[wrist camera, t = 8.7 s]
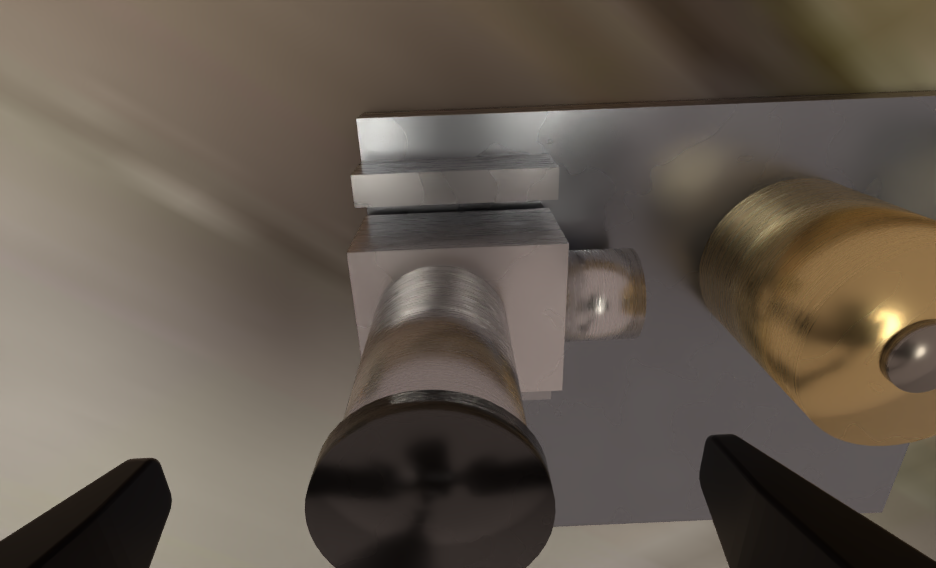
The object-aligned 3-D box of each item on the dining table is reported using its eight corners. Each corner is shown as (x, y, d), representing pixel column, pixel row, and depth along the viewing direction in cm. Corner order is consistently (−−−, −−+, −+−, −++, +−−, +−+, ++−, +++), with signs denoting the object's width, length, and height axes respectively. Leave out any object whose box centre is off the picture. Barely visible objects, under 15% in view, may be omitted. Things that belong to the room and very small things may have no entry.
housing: (846, 332, 17) (1005, 450, 12) (687, 339, 17) (782, 460, 12) (894, 173, 15) (1109, 240, 10) (712, 181, 15) (840, 251, 10)
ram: (610, 332, 16) (749, 593, 9) (381, 342, 16) (314, 613, 8) (622, 204, 14) (807, 388, 7) (365, 215, 14) (265, 410, 7)
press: (860, 487, 21) (988, 629, 16) (408, 507, 21) (392, 656, 16) (1005, 87, 15) (1293, 111, 10) (363, 112, 15) (315, 151, 10)
